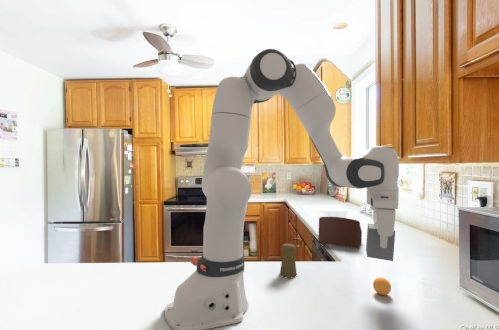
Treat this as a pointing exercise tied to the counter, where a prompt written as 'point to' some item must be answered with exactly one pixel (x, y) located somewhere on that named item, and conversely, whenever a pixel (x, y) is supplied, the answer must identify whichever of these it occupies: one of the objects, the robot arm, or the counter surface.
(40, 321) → the counter surface
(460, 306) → the counter surface
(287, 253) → the cork
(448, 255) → the counter surface
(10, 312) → the counter surface
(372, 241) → the block
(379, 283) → the ball
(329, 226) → the letter holder
